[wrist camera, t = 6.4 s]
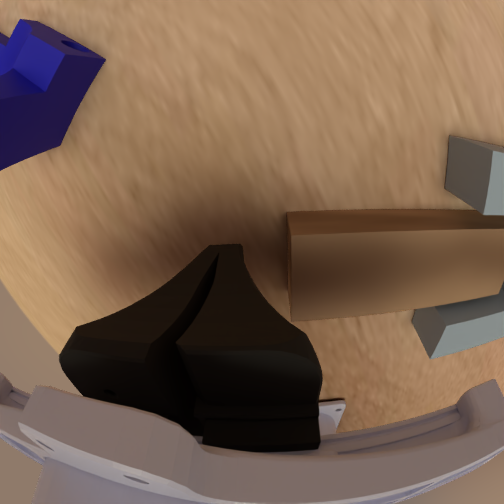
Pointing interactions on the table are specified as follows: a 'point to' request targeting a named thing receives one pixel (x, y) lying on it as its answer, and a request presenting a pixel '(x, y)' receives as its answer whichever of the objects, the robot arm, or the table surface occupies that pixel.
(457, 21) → the table surface
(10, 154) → the cable clip
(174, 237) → the table surface
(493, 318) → the end cap
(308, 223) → the slat
